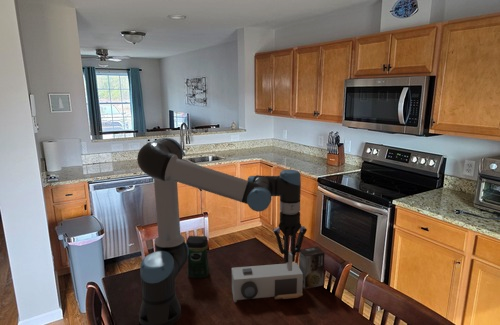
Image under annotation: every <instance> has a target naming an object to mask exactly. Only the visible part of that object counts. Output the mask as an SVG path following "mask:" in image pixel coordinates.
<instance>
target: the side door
mask: <svg viewBox="0 0 500 325" xmlns="http://www.w3.org/2000/svg"><path fill="white" fill-rule="evenodd" d="M303 295H304V294H303V292H302V293H297V294H286V295H278V296H274V300H287V299H297V298H300V297H302V296H303Z"/></svg>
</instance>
